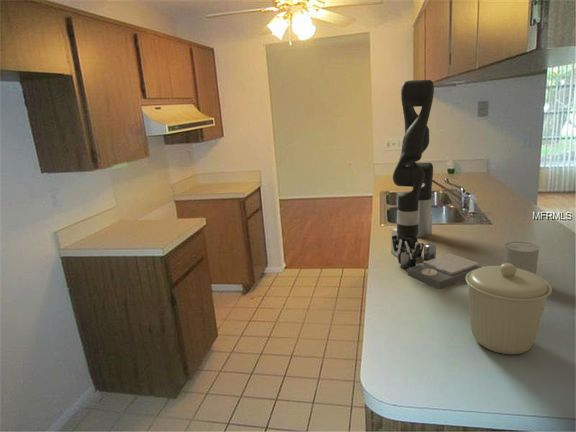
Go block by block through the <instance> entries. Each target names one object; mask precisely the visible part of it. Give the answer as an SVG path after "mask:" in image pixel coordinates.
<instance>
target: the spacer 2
mask: <svg viewBox="0 0 576 432" xmlns="http://www.w3.org/2000/svg"><path fill="white" fill-rule="evenodd" d="M423 244H424V247H423V262H425V261H428V260H431V259H434V258H437V244H435V243H428V242H427V243H423Z"/></svg>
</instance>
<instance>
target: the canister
mask: <svg viewBox="0 0 576 432" xmlns="http://www.w3.org/2000/svg"><path fill="white" fill-rule="evenodd" d="M464 280H465V282H466V284H467V286H468V287H467V288H468V290H467V291H468V303H469V304H468V305H469V317H470V319H469V320H470V327H471V333H472V336H473V337H474V339H475V341H476V342H477V343H478V344H480V346H482V347H483V348H486V349H487V350H490V351H491V352H492V351H493V352H495V353H499V354H503V355H512V356H513V355H520V354H524V353H525V351H526V352H527V351H528V350H530V349H531V348H532V347H533V345H534V343H535V340H536V339H537V335H538V332H539V328H540V324H541V321H542V318H543V314H544V310H545V307H546V302H547V298H548V297H549V296H550V295H551V294H552V291H553V288H552V286H551V284H550V283H549V282H548V281H547V280H545V279H544V278H542V277H540V276H539V275H538V274H537V273H536V274H534V273H531V272H529V271H526V270H522V269H519V268H516V267H515V266H514V265H513V264H510V263H504V262H503V263H502V264H501V265H487V266H481V268H478V269H475V270H473V271H470V272H469V273H468V274H467V275H466V277H465V279H464Z"/></svg>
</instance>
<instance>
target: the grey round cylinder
mask: <svg viewBox="0 0 576 432" xmlns="http://www.w3.org/2000/svg"><path fill="white" fill-rule="evenodd" d="M539 250H540V248H539V246H538V245H536V244H534V243H531V242H524V241H510V242H506V243H505V244H504V256H503V257H504V258H503V264H504V263H510V264H513V265H514V266H515V267H516V268H519V269H522V270H526V271H529V272H531V273H534V274H536V275H537V269H538V260H539V253H540V252H539Z"/></svg>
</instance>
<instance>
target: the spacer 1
mask: <svg viewBox="0 0 576 432" xmlns="http://www.w3.org/2000/svg"><path fill="white" fill-rule="evenodd" d="M412 254H413V252H412ZM409 266H410V256H409V253H408V252H407V250H403V251H401V264H400V268H401V269H402V270H407V271H408V268H410V267H409Z"/></svg>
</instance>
